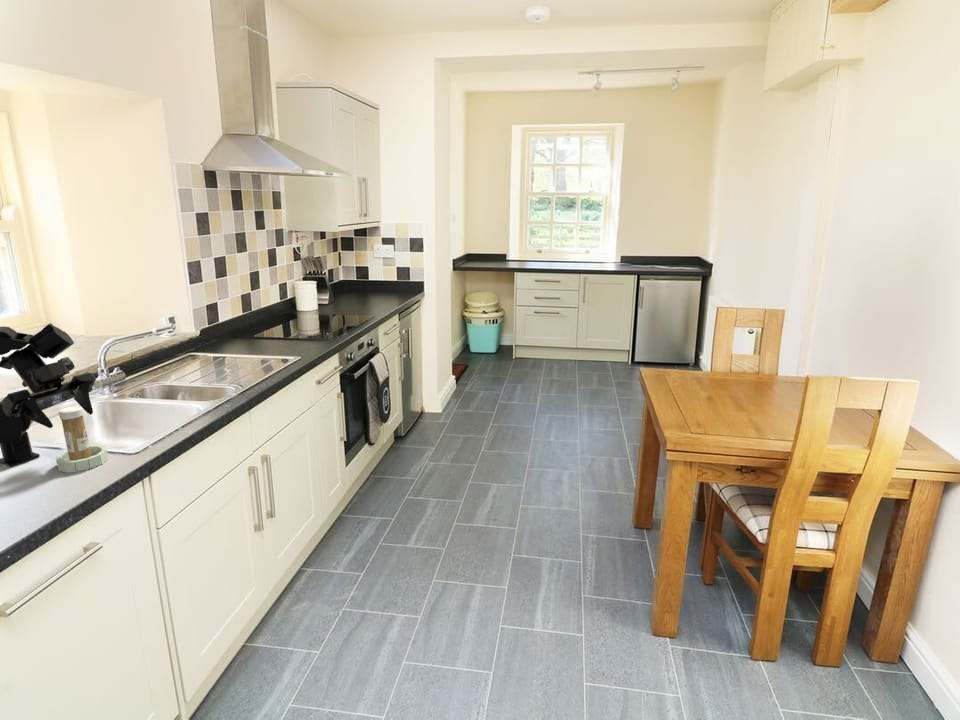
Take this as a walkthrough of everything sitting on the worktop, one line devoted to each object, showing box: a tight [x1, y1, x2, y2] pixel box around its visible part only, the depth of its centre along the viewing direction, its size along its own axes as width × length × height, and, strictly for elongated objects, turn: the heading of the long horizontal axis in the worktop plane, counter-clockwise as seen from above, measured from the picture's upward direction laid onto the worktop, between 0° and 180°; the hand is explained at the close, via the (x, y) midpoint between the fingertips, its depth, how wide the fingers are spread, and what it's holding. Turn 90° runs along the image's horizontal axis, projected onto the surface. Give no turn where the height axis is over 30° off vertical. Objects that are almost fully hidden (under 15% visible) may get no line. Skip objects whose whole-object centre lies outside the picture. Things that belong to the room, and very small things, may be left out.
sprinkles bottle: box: [58, 405, 91, 461], centre depth 137 cm, size 5×5×13 cm
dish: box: [55, 444, 109, 473], centre depth 139 cm, size 10×10×2 cm
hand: (72, 420), depth 136 cm, fingers open, 9 cm apart
